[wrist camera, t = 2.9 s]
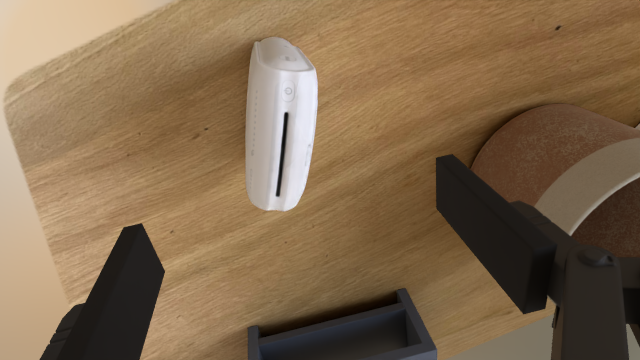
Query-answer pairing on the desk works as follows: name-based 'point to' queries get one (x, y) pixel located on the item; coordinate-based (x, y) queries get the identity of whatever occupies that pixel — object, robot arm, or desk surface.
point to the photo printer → (279, 123)
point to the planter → (570, 173)
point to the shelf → (352, 337)
